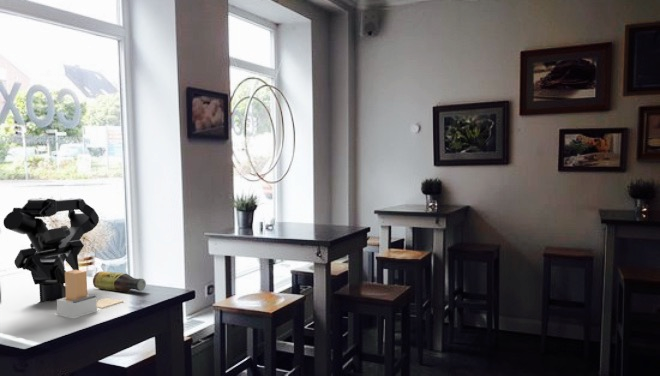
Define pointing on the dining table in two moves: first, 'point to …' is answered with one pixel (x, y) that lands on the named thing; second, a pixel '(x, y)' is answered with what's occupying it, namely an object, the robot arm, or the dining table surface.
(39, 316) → the dining table surface
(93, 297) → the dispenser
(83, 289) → the tan rectangular block
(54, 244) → the robot arm
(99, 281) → the sauce bottle
